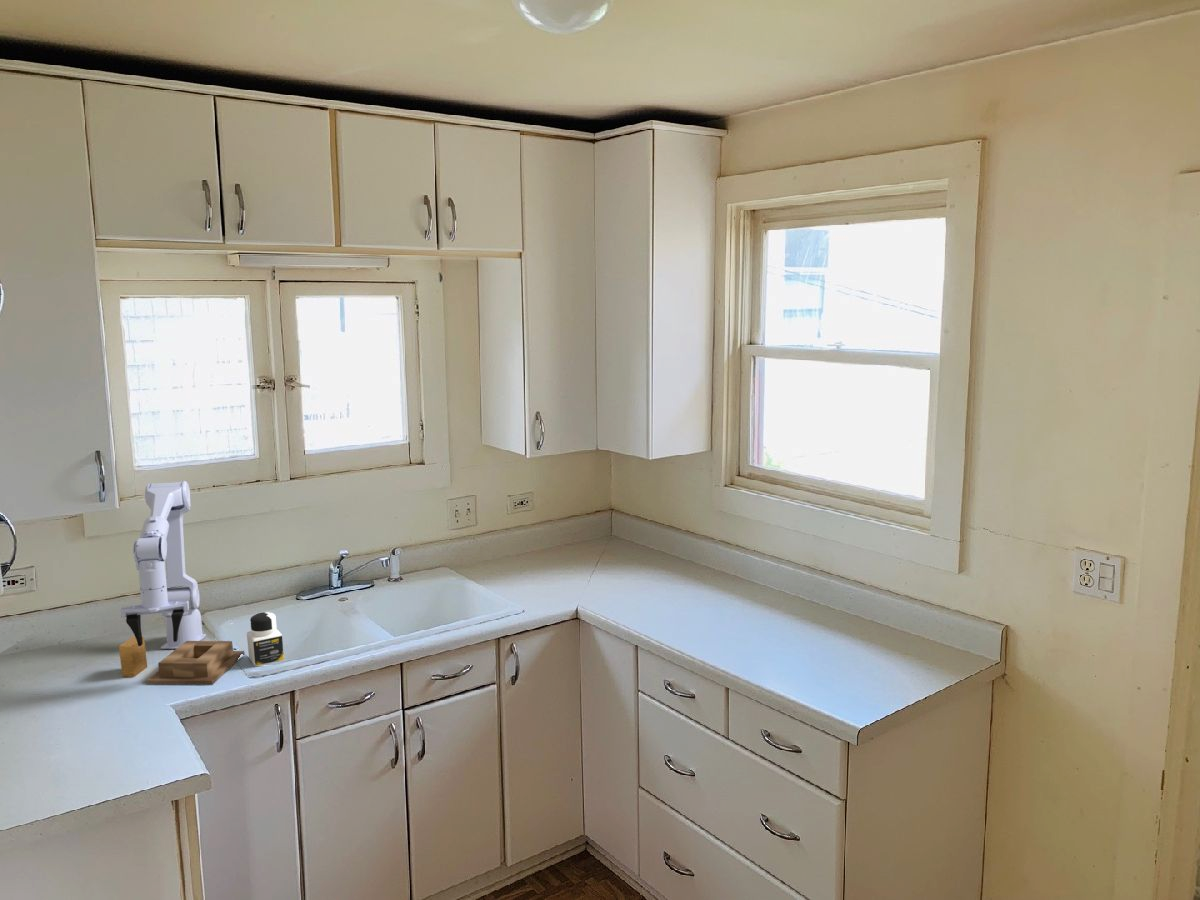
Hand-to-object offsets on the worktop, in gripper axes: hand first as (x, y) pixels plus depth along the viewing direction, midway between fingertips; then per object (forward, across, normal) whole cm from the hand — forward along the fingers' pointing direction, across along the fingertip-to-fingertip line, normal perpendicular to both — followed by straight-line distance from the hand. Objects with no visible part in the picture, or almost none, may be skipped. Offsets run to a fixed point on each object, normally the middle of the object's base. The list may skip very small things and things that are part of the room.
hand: (158, 642), depth 218 cm
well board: (+10, +8, +7) cm, 14 cm away
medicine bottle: (+10, +24, +7) cm, 26 cm away
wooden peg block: (+10, -7, +10) cm, 16 cm away
